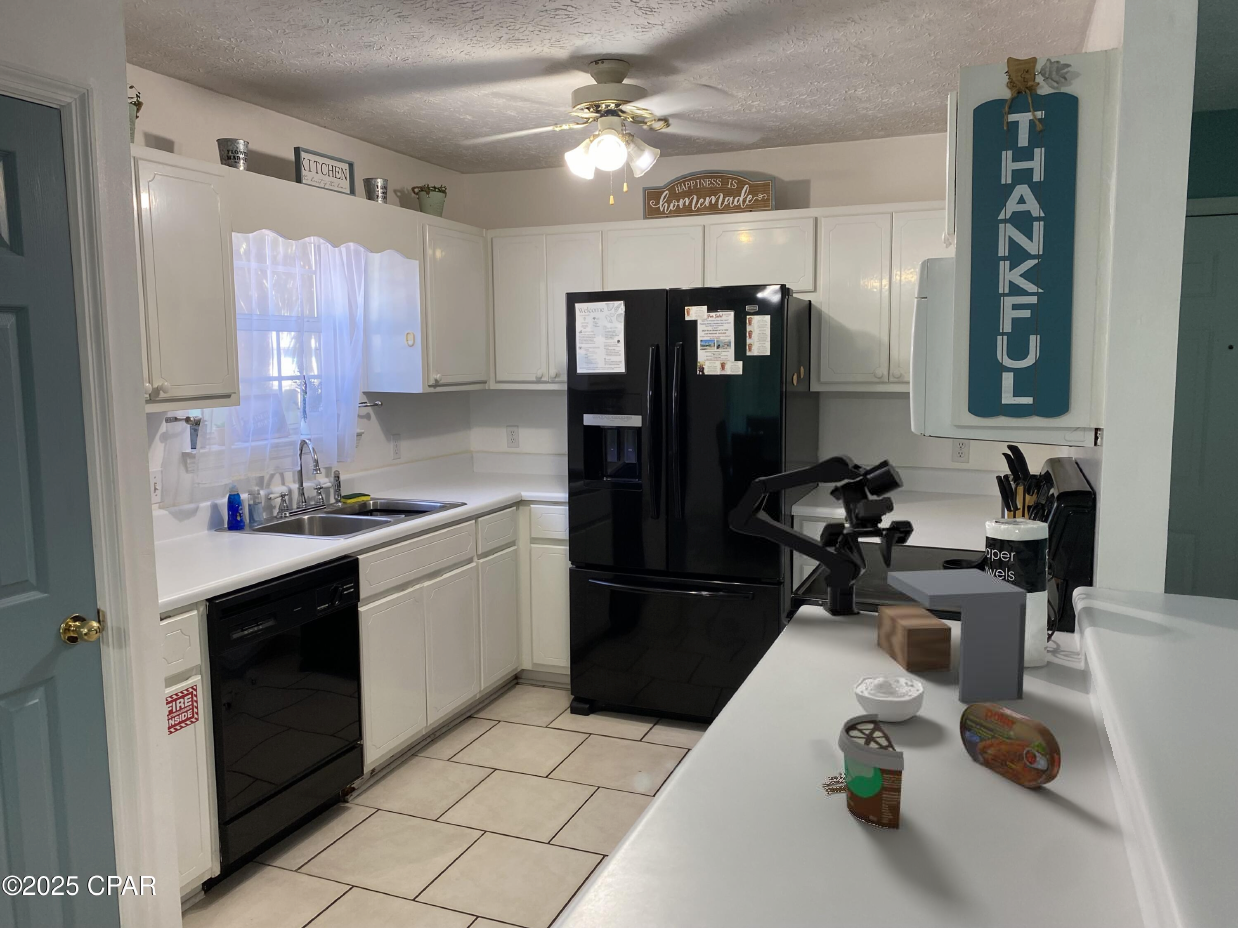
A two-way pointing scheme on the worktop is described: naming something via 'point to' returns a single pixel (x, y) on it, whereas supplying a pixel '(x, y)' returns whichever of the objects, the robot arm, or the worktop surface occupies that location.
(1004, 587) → the slate shelf
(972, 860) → the worktop surface
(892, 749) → the food container
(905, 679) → the white bowl of cream
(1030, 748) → the tin
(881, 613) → the walnut block
